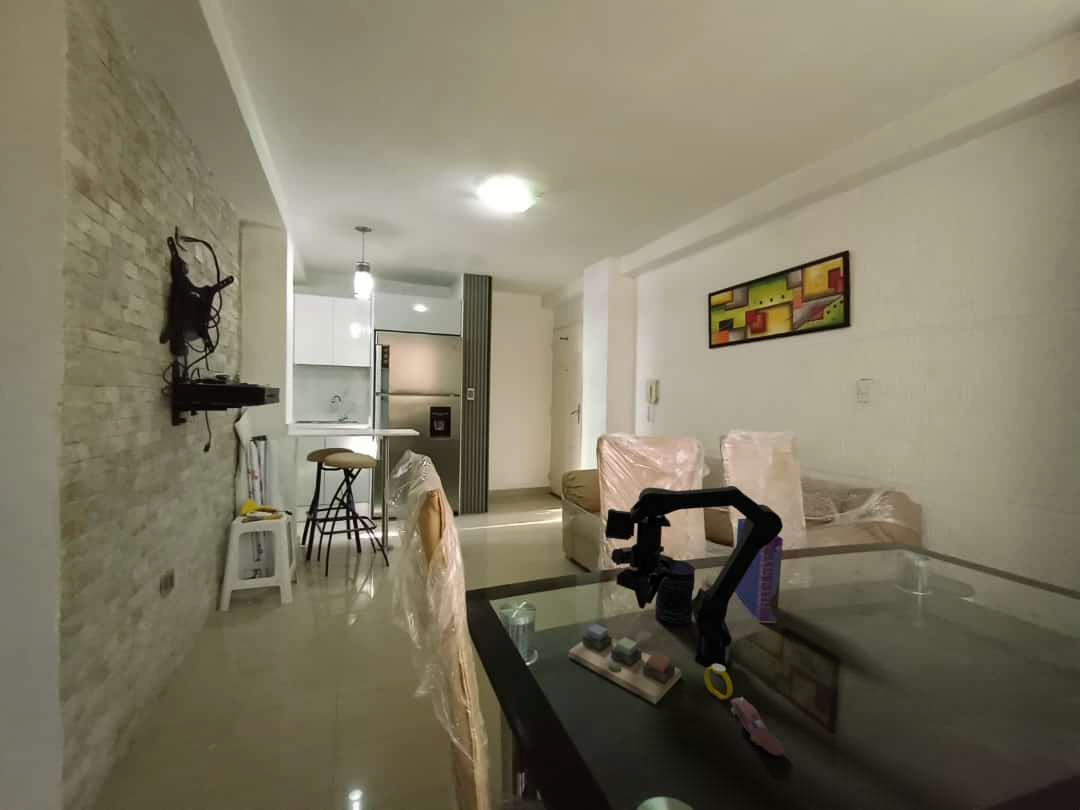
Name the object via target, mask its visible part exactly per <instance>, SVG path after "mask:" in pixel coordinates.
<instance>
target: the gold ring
mask: <svg viewBox="0 0 1080 810" xmlns="http://www.w3.org/2000/svg"><path fill="white" fill-rule="evenodd" d="M726 668H727V667H726ZM726 668H725V667H724V666H723V665H721V664H713V665H712V666H710V667H708V666H707V667H706V669H705V670H704V674H703V677H704V678H703V679H704V683H705V685H706V688H707V689H708V691H709V693H711V694H713V695H714V696H715V697H717V698H718V699H719V700H727V699H728V698H730V697H731V696H732V694H733V682H732V680H731V678H730V675H729V674H728V673H727V669H726ZM711 671H712V673H715V674H716V675H720V676H721V677H722V678H723V679H724V681H725V684H726V688H727V689H726V694H724V695H723V694H722V693H721V692H720V691H718V690H717V689H715V687H714V686H713V684H712V682H711V677H710V672H711Z"/></svg>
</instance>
